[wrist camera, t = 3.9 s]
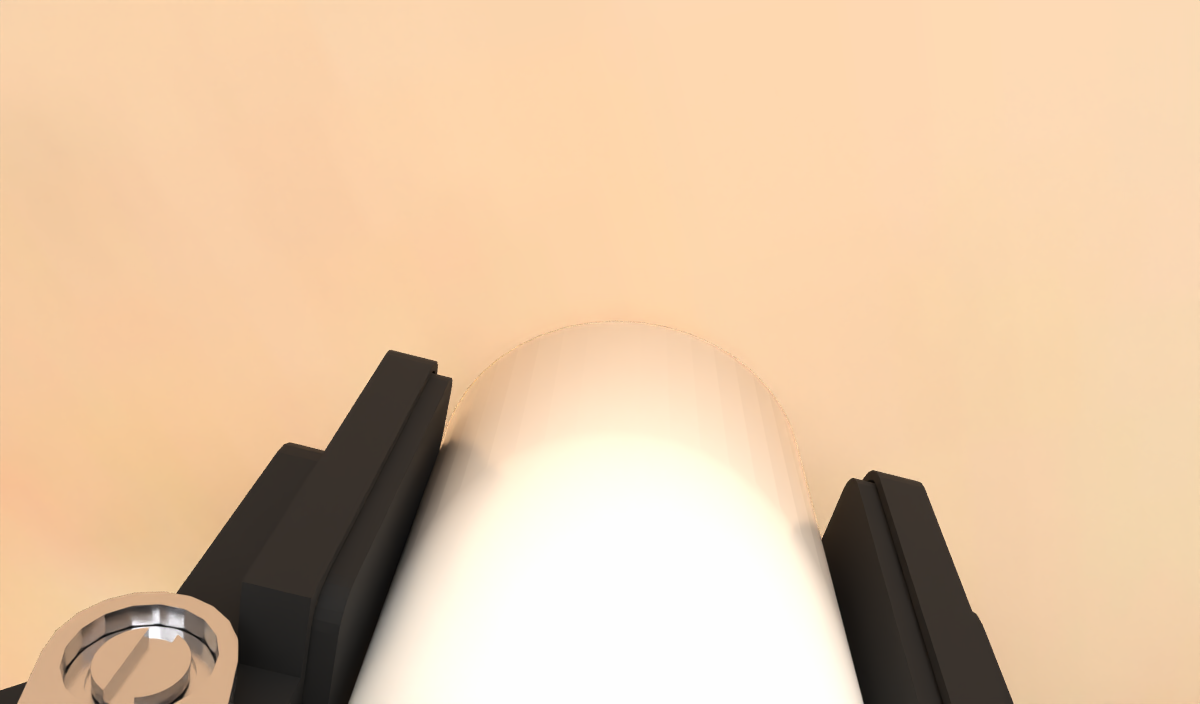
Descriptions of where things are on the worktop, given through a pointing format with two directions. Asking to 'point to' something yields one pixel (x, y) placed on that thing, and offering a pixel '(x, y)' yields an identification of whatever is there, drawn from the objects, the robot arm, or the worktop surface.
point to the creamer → (613, 539)
